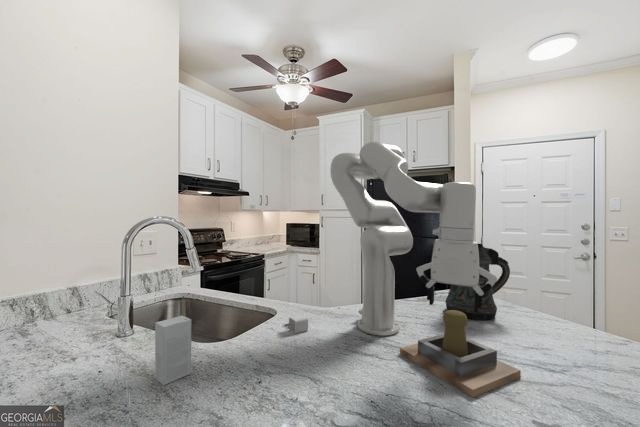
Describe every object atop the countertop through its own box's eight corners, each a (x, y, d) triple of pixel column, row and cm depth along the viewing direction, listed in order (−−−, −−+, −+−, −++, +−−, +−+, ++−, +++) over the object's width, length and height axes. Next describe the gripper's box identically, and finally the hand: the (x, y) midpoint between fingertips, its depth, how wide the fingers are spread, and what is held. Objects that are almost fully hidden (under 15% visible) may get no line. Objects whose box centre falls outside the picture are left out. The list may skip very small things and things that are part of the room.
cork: (472, 366, 66) (473, 316, 66) (443, 363, 67) (444, 314, 67) (465, 353, 72) (465, 308, 72) (438, 351, 73) (439, 306, 73)
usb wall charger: (307, 331, 89) (308, 318, 89) (286, 336, 85) (287, 322, 85) (301, 327, 92) (301, 314, 92) (281, 331, 88) (281, 318, 88)
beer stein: (436, 307, 113) (436, 241, 113) (481, 304, 117) (481, 241, 117) (465, 322, 97) (465, 246, 97) (516, 319, 100) (516, 245, 100)
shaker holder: (399, 353, 75) (400, 336, 75) (443, 341, 82) (444, 325, 82) (472, 397, 57) (473, 374, 57) (520, 377, 64) (520, 356, 65)
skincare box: (182, 367, 67) (183, 314, 67) (191, 374, 65) (192, 319, 65) (153, 378, 63) (154, 322, 63) (162, 386, 60) (163, 327, 60)
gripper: (415, 233, 71) (412, 305, 71) (500, 239, 63) (496, 319, 63) (420, 231, 77) (417, 296, 78) (497, 236, 69) (494, 309, 70)
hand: (453, 307), depth 70 cm, fingers open, 9 cm apart
